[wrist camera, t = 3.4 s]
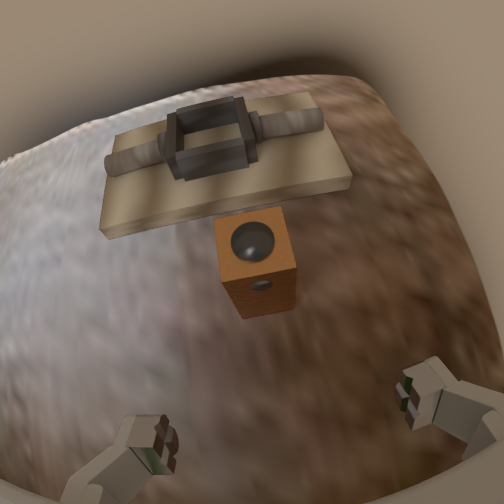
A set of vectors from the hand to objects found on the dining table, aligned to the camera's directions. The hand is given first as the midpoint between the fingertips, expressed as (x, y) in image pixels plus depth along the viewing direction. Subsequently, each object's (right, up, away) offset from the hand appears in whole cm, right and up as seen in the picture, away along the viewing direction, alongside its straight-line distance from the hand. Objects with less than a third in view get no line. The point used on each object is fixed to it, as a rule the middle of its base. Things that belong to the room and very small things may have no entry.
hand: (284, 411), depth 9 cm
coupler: (0, +2, +15) cm, 15 cm away
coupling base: (-5, +15, +22) cm, 27 cm away
